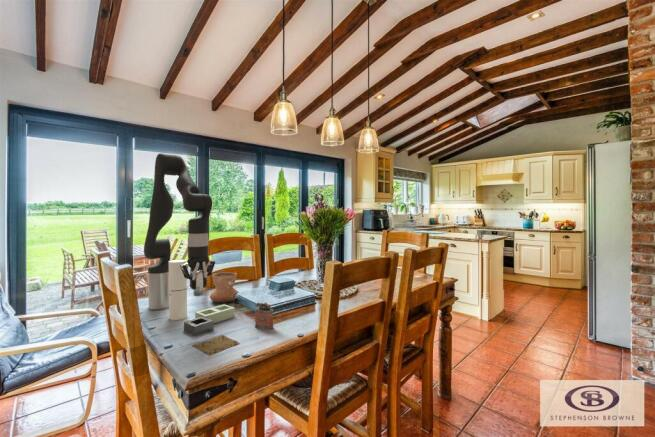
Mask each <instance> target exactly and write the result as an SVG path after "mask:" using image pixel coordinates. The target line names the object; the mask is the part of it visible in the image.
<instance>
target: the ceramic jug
mask: <svg viewBox="0 0 655 437" xmlns="http://www.w3.org/2000/svg"><path fill="white" fill-rule="evenodd" d="M211 277H212V282H213V284H214V287H215V289H214V290H212V292H210V295H209V299H210V301H212V302H214V303H218V304H227V303H231V302H233V301H235V295H236V294H237V293H239V294H240V292H239V291H238V289H236V288H234V285H235V283H236V280H237V272H229V271H228V272H227V271H225V272H224V271H223V272H222V271H221V272H216V273H213V274H211Z"/></svg>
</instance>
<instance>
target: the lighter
mask: <svg viewBox="0 0 655 437" xmlns="http://www.w3.org/2000/svg"><path fill="white" fill-rule="evenodd" d="M254 311H255V312H254V313H255V314H254V315H255V317H254V318H255V324H254V328H255V329H260V330H271V331H272V330H273V329H274V309H273V308H271V303H268V302H264V303H263V302H256V307H255V308H254Z"/></svg>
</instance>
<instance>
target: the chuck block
mask: <svg viewBox="0 0 655 437" xmlns="http://www.w3.org/2000/svg"><path fill="white" fill-rule="evenodd" d="M214 324H215V323H214V321H213V320H210V319H208V318H206V317H199V318H196V319H195V318H192V319H189V320H185V321H183V331H184V332H186V333H188V334H190V335H192V336H194V337H196V336H199V335H202V334H204V333H207V332H210V331H214V328H215V326H214Z"/></svg>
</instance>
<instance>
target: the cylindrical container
mask: <svg viewBox="0 0 655 437" xmlns="http://www.w3.org/2000/svg"><path fill="white" fill-rule="evenodd" d="M187 261H188V259H187V260H186V259H173V260H170V261H169V307H168V316H169V317H168V318H169V320H171V321H177V320H183V319H185V318H187V317H188V296H187V295H188V285H187V284H188V282H187V281H188V279H186V278H185V277H184V275H183V272H182V270H181V268H180V265H184V264H185V263H187Z"/></svg>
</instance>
